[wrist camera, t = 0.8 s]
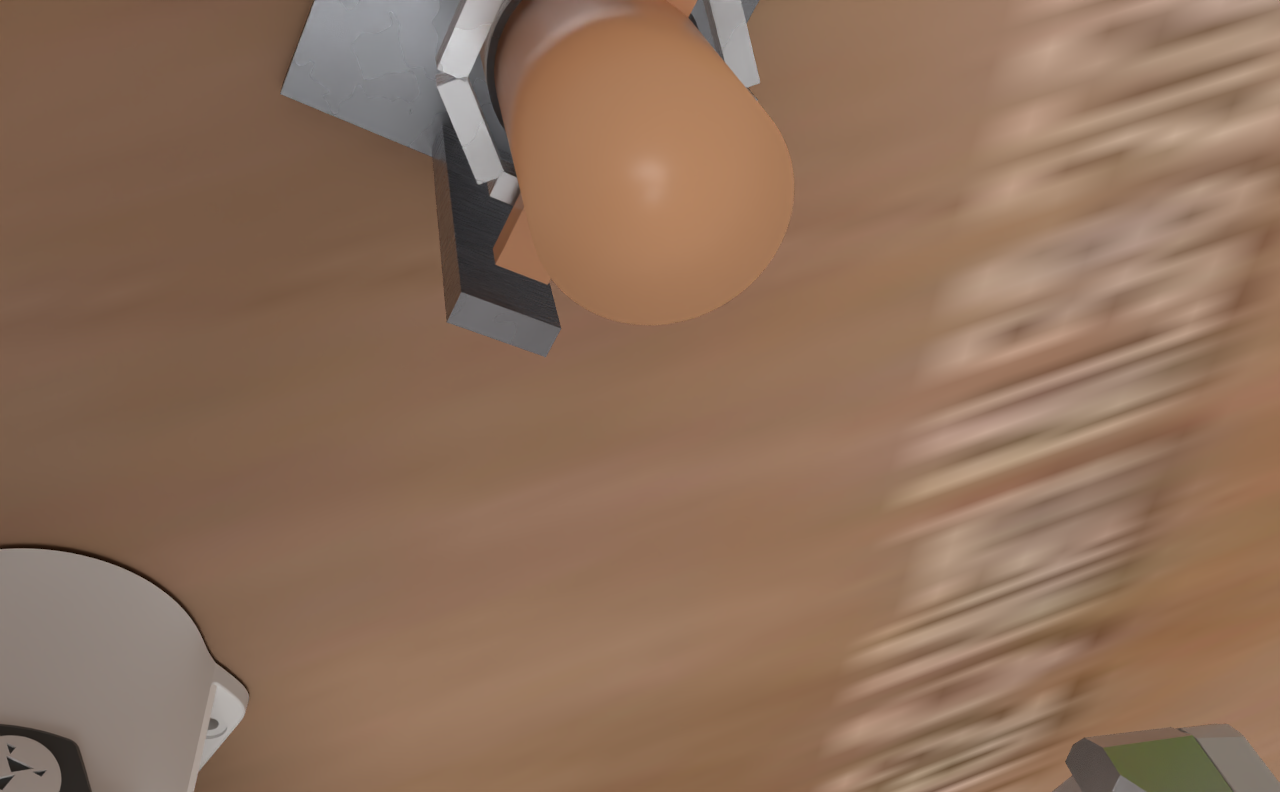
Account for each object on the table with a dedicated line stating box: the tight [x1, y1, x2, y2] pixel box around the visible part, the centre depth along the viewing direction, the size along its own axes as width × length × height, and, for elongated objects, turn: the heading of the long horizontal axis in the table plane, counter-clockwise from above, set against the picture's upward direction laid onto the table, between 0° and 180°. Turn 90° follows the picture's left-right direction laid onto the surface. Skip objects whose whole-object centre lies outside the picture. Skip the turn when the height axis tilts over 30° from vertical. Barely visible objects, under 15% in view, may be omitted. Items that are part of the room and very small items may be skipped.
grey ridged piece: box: [280, 0, 760, 357], centre depth 34 cm, size 15×14×14 cm
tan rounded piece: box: [493, 0, 794, 326], centre depth 27 cm, size 11×6×9 cm, turn 152°
